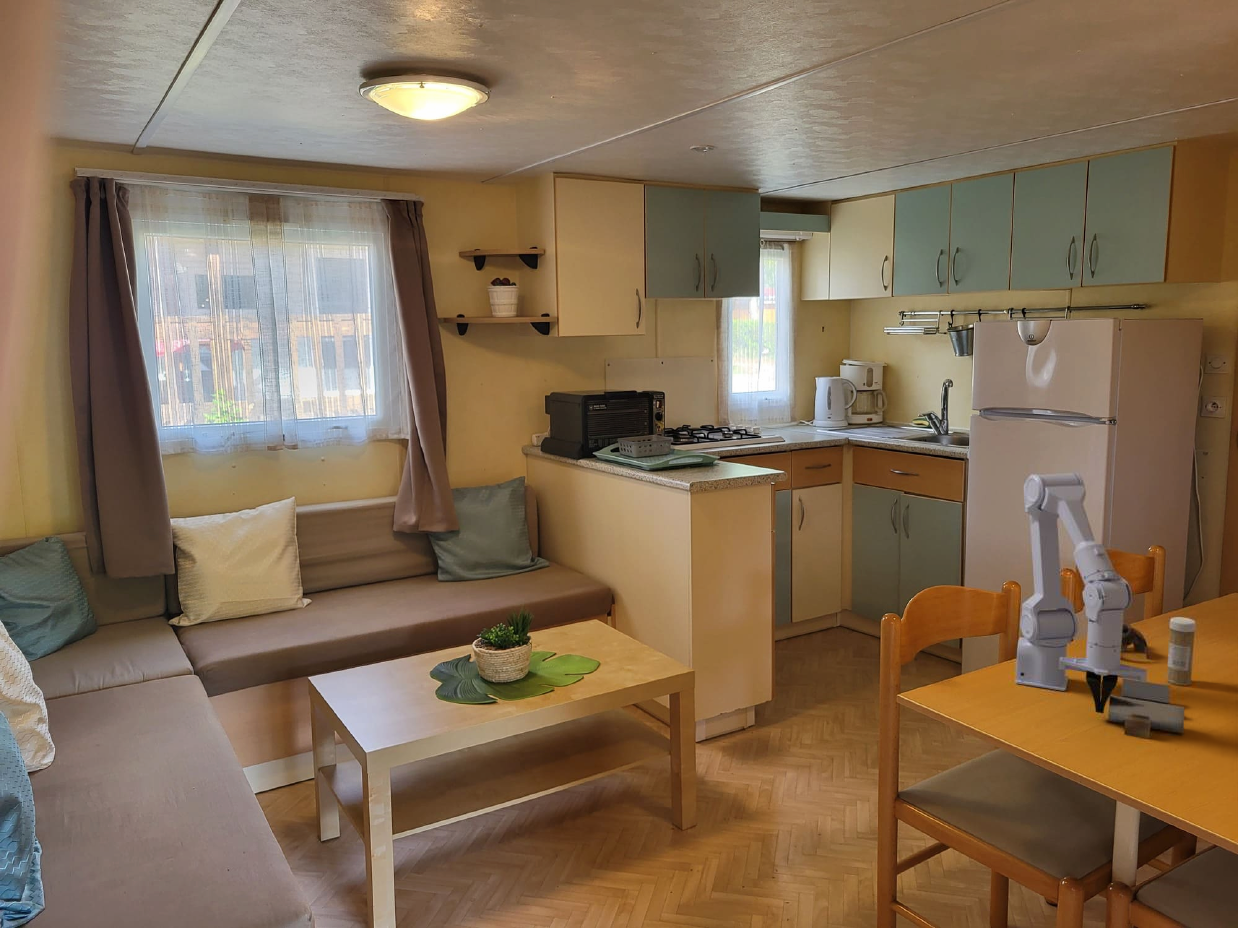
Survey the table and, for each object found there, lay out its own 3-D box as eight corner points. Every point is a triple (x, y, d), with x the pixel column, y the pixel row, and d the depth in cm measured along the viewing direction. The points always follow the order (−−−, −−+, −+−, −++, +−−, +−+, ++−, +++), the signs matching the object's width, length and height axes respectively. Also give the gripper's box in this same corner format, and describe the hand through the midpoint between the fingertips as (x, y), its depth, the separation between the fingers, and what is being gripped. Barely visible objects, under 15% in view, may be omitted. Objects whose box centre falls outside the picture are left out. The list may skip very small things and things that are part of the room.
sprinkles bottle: (1195, 682, 192) (1200, 620, 190) (1184, 688, 189) (1189, 624, 187) (1172, 676, 196) (1177, 614, 193) (1161, 681, 193) (1165, 619, 191)
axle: (1107, 723, 173) (1109, 697, 173) (1108, 717, 177) (1110, 692, 177) (1182, 736, 167) (1184, 709, 167) (1182, 730, 171) (1183, 704, 171)
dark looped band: (1155, 666, 202) (1138, 636, 201) (1110, 677, 207) (1093, 648, 206) (1149, 636, 212) (1133, 606, 211) (1106, 647, 217) (1091, 619, 216)
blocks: (1124, 734, 170) (1125, 718, 169) (1125, 713, 178) (1126, 699, 178) (1149, 738, 168) (1150, 723, 167) (1149, 717, 176) (1150, 702, 176)
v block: (1120, 709, 180) (1121, 690, 179) (1121, 695, 187) (1122, 677, 186) (1168, 717, 176) (1169, 698, 175) (1167, 702, 183) (1169, 684, 182)
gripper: (1059, 642, 174) (1055, 711, 176) (1148, 655, 167) (1143, 726, 169) (1062, 631, 180) (1059, 697, 182) (1148, 642, 173) (1143, 711, 175)
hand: (1099, 710), depth 176 cm, fingers closed
